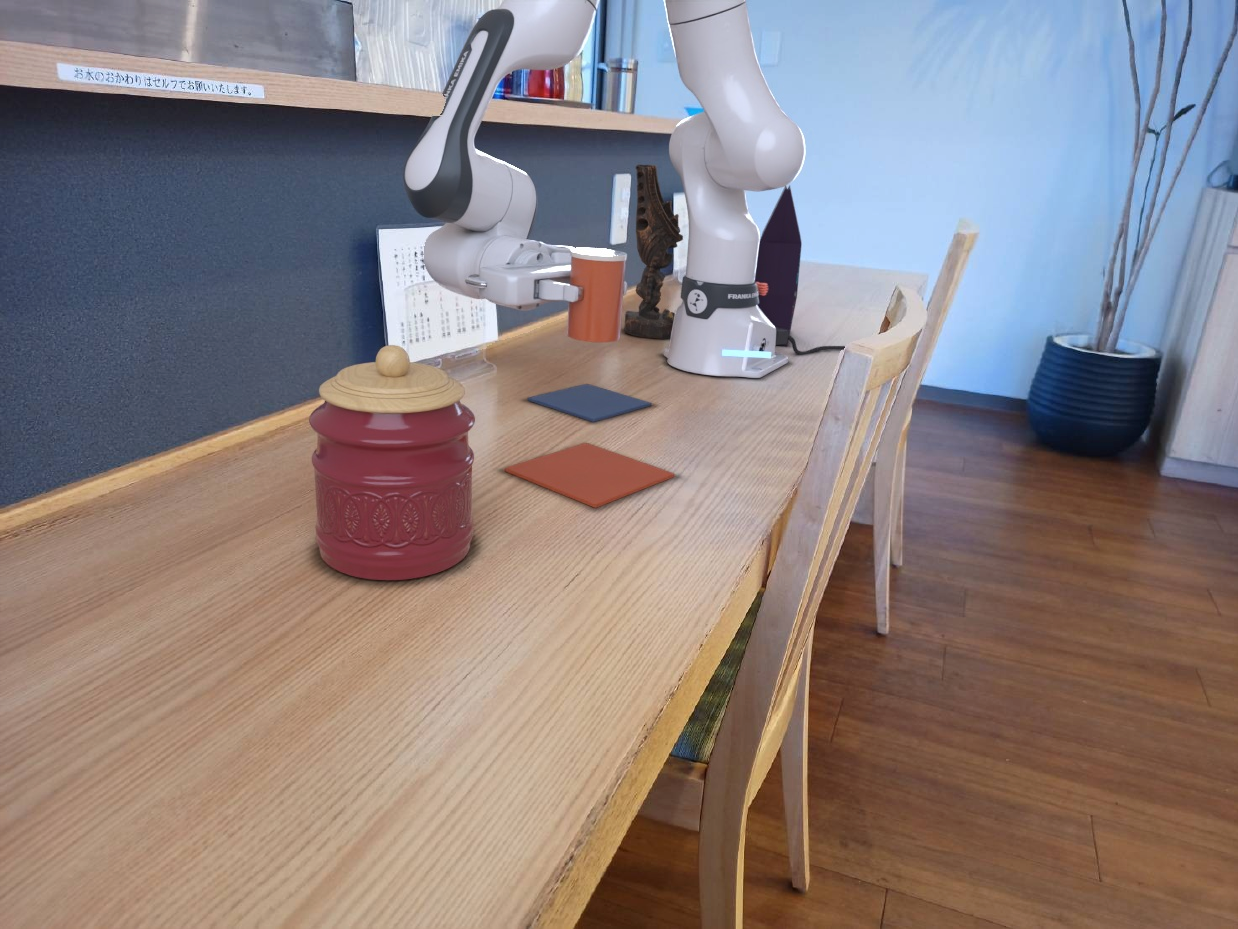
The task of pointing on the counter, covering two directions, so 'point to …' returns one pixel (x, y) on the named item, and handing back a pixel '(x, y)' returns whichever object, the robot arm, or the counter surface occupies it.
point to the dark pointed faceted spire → (780, 263)
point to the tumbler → (597, 294)
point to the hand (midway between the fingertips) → (602, 291)
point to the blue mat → (589, 402)
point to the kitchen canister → (393, 469)
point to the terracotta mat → (590, 474)
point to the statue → (652, 255)
